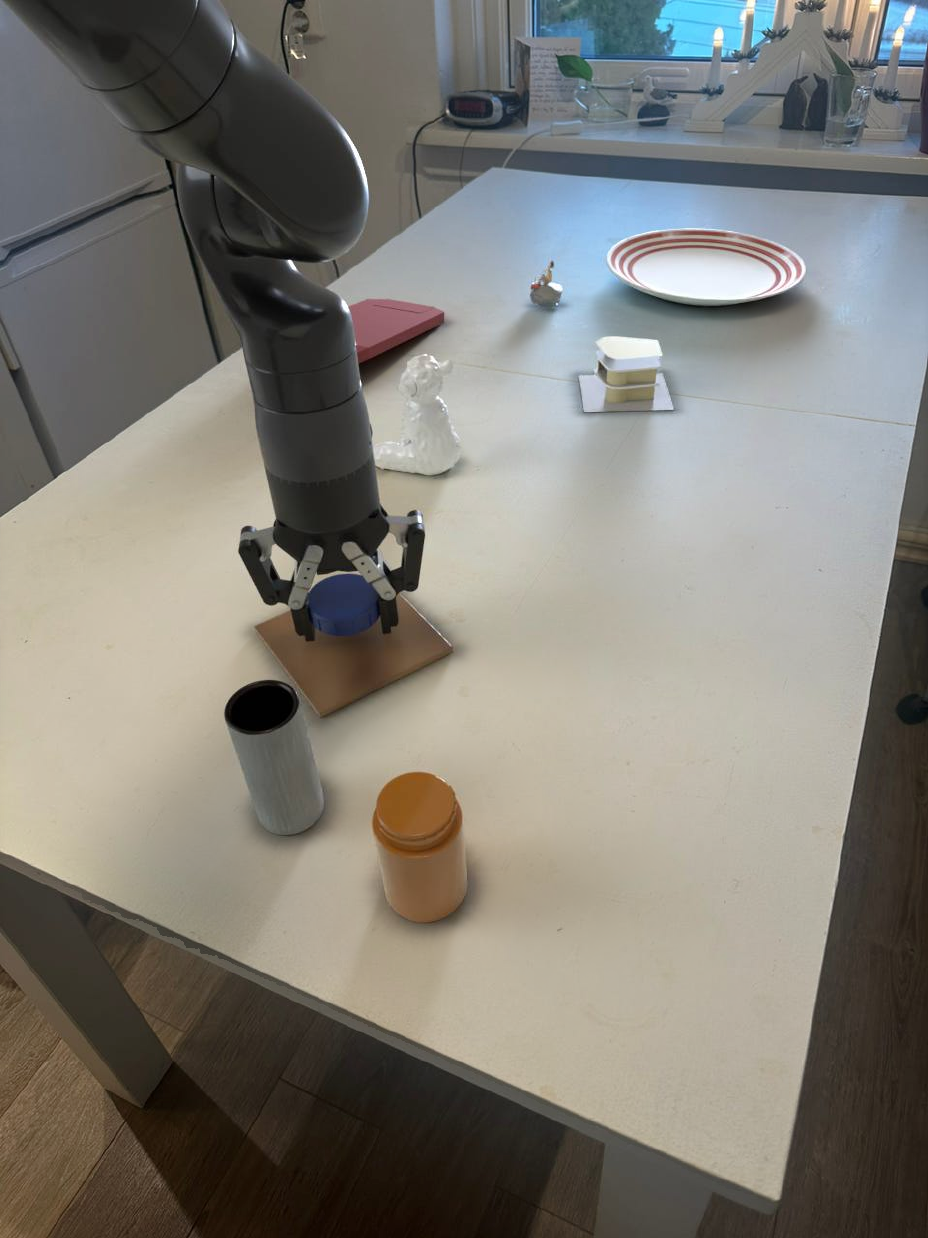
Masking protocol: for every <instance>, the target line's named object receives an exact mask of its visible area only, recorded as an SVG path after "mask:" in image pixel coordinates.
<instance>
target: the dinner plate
mask: <svg viewBox="0 0 928 1238" xmlns="http://www.w3.org/2000/svg"><path fill="white" fill-rule="evenodd" d="M605 263H606V266H607V268H608V269H609V271H610V272H611V273H612V275H614V277H616V278H617V279H618V280H619V281H621V282H622V283H624V284H626V285H628V286H629V287H630V288H633V289H635V290H637V291H640V292H642V293H644V294H647V295H650V296H654V297H657V298H660V299H662V300H665V301H669V302H672V303H673V302H674V303H678V304H684V305H690V306H699V307H700V306H702V307H719V306H721V307H722V306H729V305H730V306H731V305H736V304H737V305H738V304H741V303H749V302H755V301H759V300H762V299H767V298H769V297H773V296H776V295H780V294H783V293H786V292H788V291H790V290H792V289H794V288H795V287H797V286H798V285H800V284H801V283H802V282H803V281H804V279H805V278H806V276H807V265H806V263H805V261H804V259H803V258H801V256H799V255H798V254H797V253H796V252H794V250H791V249H790V248H788V247H786V246H784V245H782V244H780V243H778V242H776V241H773V240H770V239H767V238H764V237H761V236H758V235H753V234H748V233H743V232H739V231H732V230H726V229H725V230H724V229H713V228H671V229H670V228H669V229H661V230H653V231H648V232H643V233H638V234H635V235H631V236H628V237H627V238H624V239H622V240H620V241H618V242H617V243H615V244H614V245H613V246H611V248H609V250H608V252H607V253H606V256H605Z"/></svg>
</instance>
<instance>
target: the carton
mask: <svg viewBox="0 0 928 1238" xmlns="http://www.w3.org/2000/svg"><path fill="white" fill-rule="evenodd" d="M348 308H349V310H350V313H351V316H352V321H353V326H354V333H355V341H356V349H357V357H358V365H360V364H361V363H364V362H365V361H367V360H369V359H372V358H374V357H376V356H378V355H380V354H382V353H385V352H386V351H388V350H391V349H392V348H394V347H396V346H398V345H400V344H403V343H405V342H407V341H408V340H411V339H413V338H415V337H417V336H419V335H421V334H423V333H425V332H427V331H429V330H431V329H433V328H435V327H437V326H439V325H441V324H444V323H445V311H443V310H441V309H439V308H436V307H435V306H431V305H425V304H420V303H414V302H408V301H403V300H396V299H390V298H367V299H363V300H361V301H359V302H356V303H353V304H351V305H348Z"/></svg>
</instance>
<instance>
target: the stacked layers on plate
mask: <svg viewBox="0 0 928 1238" xmlns="http://www.w3.org/2000/svg"><path fill="white" fill-rule="evenodd" d="M595 344H596V345H597V346H598V347H599V350H597V351H596V352H595V353H594V354H595V355H594V356H595V357H596V359H597V360H598V362H597V367H596V368H594V369H593V370H594V374H580V375H578V380H579V387H580V394H581V401H582V408H583V413H602V412H605V413H606V412H607V413H608V412H609V413H610V412H644V411H645V412H647V411H648V412H649V411H674V410H675V409H674V405H673V402H672V399H671V396H670V392H669V389H668V386H667V384H666V379H665V376H664V372H658V370H659V369H660V370H661V369H662V364H661V361H660V357H662V356H663V352H662V349H661V346H660V342H659V340H658V339H652V338H651V339H650V338H639V337H628V336H619V335H616V336H615V335H614V336H613V335H610V336H603V337H602V338H599V339H598V340H597V341H595Z"/></svg>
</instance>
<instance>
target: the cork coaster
mask: <svg viewBox="0 0 928 1238" xmlns="http://www.w3.org/2000/svg"><path fill="white" fill-rule="evenodd" d="M396 599H397V607H398V619H399V622H398V625H397V626H394V627H391V633H388V634H383V632H382V625H381V618H380V616H379V618H378V620H377V621H376V622H375V624H373V625H372V626H371V627H370V628H368V629H367V630H365V631H363V632H360V633H358V634H354V635H349V636H333V635H328V634H325V633H323V632H321V631H319V630H318V629H317V628H316V627H315V641H309V642H306V640H305V636H299V635H298V634H297V633H296V631H295V627H294V622H293V618H292V614H291V610H290V609H289V610H288V611H286V612H284V613H282V614H279V615H276V616H274V617H272V618H269V619H268V620H265V621H262V622H260V623H259V624H256V625H254V626H253V628H254V631H255V633H256V634H257V635H258V637H259V639H261V641H262V642H263V643H264V645H265V646H266V648H267V649H268V650H269V651H270V653H271V654H272V655H273V657H274V659H276V661H277V662H278V663H279V665H280V666H281V667H282V669H283V670H284V671H285V673H286V674H287V675H288V677H289V678H290V680H291V681H292V682H293V684H294V685H295V686H296V688H297V689H298V691H299V692H300V693H301V694H302V696H303V697H304V698H305V700H306V701H307V702H308V704H309V705H310V707H311V708H312V709H313V711H314V712H315V713H316V714H317V716H318V717H319V718H323V717H325V716H327V715H329V714H331V713H333V712H335V711H337V710H339V709H341V708H343V707H346V706H347V705H349V704H351V703H353V702H355V701H357V700H359V699H362V698H364V697H366V696H368V695H369V694H371V693H373V692H375V691H377V690H380V689H381V688H385V687H386V686H388V685H390V684H391V683H394V682H395V681H397V680H400V679H401V678H404V677H406V676H408V675H410V674H412V673H414V672H416V671H417V670H420V669H422V668H424V667H426V666H428V665H430V664H432V663H434V662H436V661H438V660H440V659H442V658H444V657H446V656H448V655H451V654H452V653H454V646H453V645H452V644H451V643H450V642H448V640H447V639H446V638H445V637H444V636H443V635H441V633H440V632H439V631H438V630H437V629H436V628H435V627H434V626H433V625H432V624H431V623H430V622H429V621H428V620H427V619H426V618H425V617H424V616H423V615H422V614H421V613H420V611H418V610H417V609H416V608H415V607H414V606H413V605H412V604H411V603H410V602H409V600H407V599H406V598H405V596H403V595H402V594H401V592H400V593H398V594H397V596H396Z"/></svg>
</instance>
